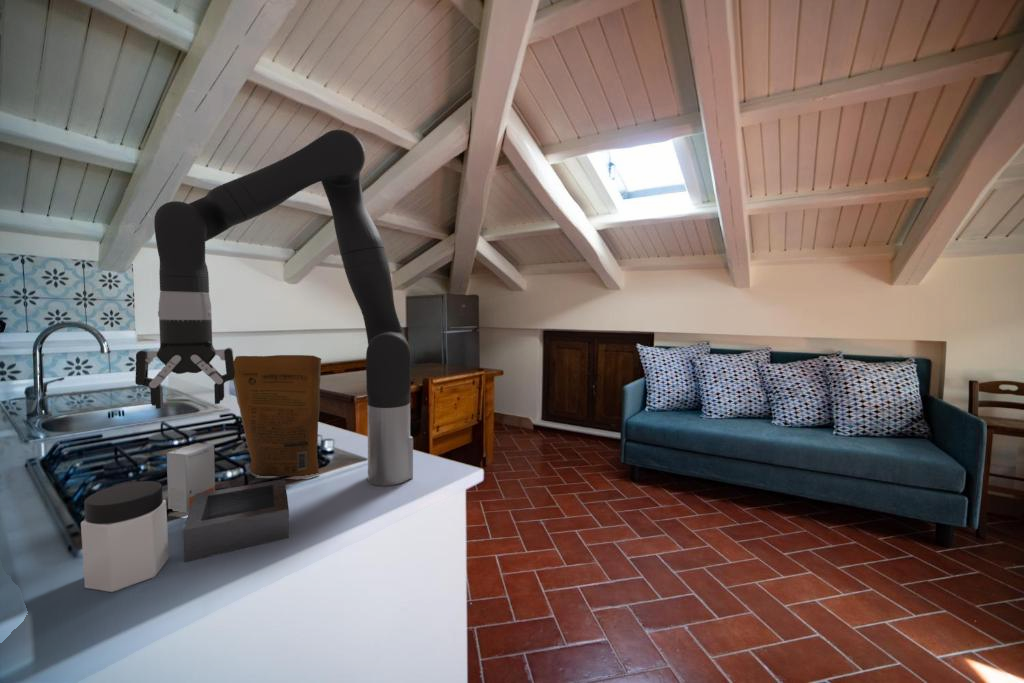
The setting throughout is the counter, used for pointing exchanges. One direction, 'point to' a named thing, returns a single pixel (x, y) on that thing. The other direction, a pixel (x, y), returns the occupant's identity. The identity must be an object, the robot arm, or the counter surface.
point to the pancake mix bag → (279, 412)
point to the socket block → (236, 519)
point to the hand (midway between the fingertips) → (189, 405)
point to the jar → (124, 535)
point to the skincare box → (189, 474)
